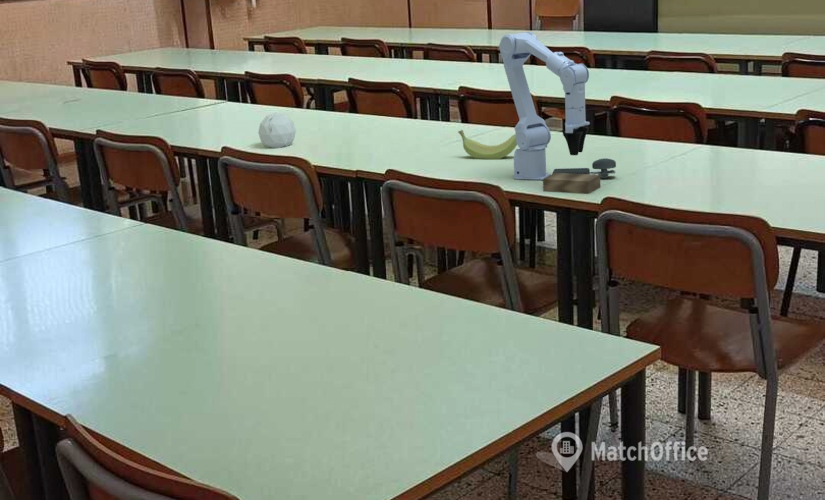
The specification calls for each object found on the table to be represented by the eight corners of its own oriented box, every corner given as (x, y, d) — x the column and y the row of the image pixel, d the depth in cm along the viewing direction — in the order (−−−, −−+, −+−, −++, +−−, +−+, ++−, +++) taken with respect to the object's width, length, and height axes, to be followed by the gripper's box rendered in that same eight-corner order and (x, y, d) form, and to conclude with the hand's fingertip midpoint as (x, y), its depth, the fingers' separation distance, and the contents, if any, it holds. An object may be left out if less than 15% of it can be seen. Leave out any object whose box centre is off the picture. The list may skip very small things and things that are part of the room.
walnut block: (543, 192, 309) (542, 178, 308) (555, 185, 316) (555, 172, 315) (588, 195, 301) (588, 181, 300) (600, 188, 309) (600, 174, 308)
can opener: (616, 176, 322) (616, 156, 320) (615, 180, 317) (615, 159, 316) (553, 177, 326) (553, 157, 325) (552, 181, 322) (551, 160, 320)
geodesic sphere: (294, 153, 396) (291, 114, 392) (256, 155, 396) (252, 117, 393) (299, 146, 410) (296, 109, 407) (263, 148, 411) (259, 111, 407)
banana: (502, 173, 355) (449, 146, 359) (506, 169, 360) (454, 143, 364) (518, 137, 350) (465, 110, 353) (522, 134, 355) (470, 108, 358)
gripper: (582, 110, 299) (583, 158, 302) (595, 103, 312) (596, 149, 315) (557, 110, 302) (559, 158, 305) (571, 103, 314) (573, 148, 318)
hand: (576, 153), depth 310 cm, fingers open, 4 cm apart
